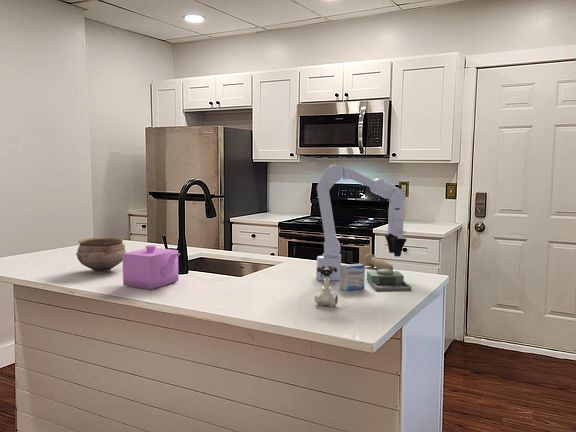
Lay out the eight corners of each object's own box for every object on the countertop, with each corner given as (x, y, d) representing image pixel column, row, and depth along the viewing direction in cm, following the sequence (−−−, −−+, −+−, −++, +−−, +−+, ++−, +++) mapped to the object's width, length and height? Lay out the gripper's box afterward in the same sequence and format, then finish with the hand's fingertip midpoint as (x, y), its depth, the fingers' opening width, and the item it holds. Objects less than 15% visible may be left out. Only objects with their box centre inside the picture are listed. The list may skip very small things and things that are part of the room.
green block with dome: (371, 285, 188) (371, 273, 187) (366, 280, 196) (366, 268, 195) (403, 285, 189) (403, 273, 188) (397, 280, 197) (397, 268, 196)
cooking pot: (107, 262, 227) (107, 235, 226) (140, 266, 219) (140, 238, 218) (60, 273, 205) (59, 242, 204) (95, 277, 197) (94, 246, 195)
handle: (398, 267, 211) (377, 258, 224) (388, 260, 208) (367, 251, 221) (392, 277, 211) (371, 267, 224) (382, 270, 208) (361, 261, 221)
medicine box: (346, 291, 179) (346, 266, 178) (339, 288, 183) (339, 264, 182) (364, 288, 182) (365, 265, 182) (357, 286, 186) (358, 262, 185)
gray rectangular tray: (375, 291, 179) (375, 286, 179) (370, 285, 188) (370, 281, 188) (411, 290, 180) (411, 286, 180) (404, 285, 188) (404, 281, 188)
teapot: (166, 291, 177) (166, 251, 175) (113, 283, 188) (112, 246, 186) (193, 282, 190) (193, 245, 189) (142, 275, 201) (141, 240, 200)
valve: (320, 301, 165) (320, 265, 164) (339, 304, 163) (340, 266, 162) (312, 306, 159) (313, 268, 158) (332, 309, 157) (333, 270, 156)
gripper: (412, 221, 188) (410, 258, 190) (400, 217, 203) (399, 251, 204) (393, 221, 188) (391, 258, 189) (383, 217, 202) (382, 251, 204)
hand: (394, 254), depth 197 cm, fingers open, 7 cm apart
